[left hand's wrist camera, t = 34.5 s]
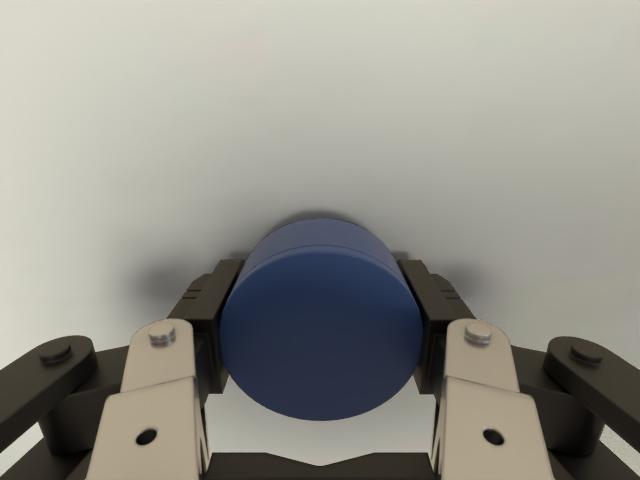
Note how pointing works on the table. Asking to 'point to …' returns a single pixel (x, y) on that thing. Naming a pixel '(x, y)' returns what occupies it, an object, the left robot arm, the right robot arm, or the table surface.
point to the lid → (321, 322)
